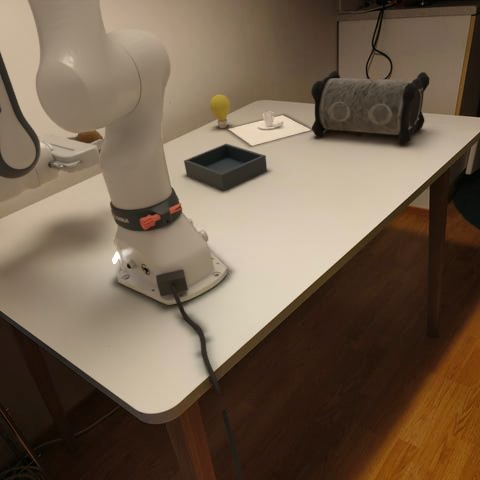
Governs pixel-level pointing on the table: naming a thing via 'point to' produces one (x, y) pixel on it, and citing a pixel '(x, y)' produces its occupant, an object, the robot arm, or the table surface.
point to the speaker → (369, 105)
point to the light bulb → (220, 109)
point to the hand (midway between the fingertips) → (93, 140)
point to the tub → (225, 166)
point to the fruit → (89, 137)
